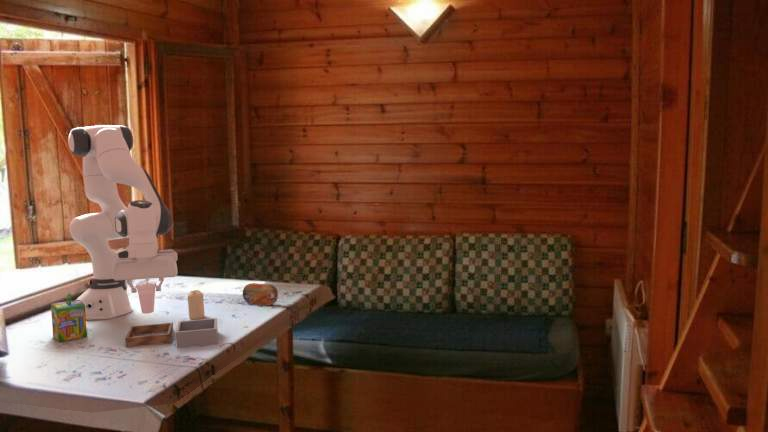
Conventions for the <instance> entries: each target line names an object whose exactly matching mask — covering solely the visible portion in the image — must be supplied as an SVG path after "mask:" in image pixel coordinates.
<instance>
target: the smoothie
mask: <svg viewBox="0 0 768 432" xmlns="http://www.w3.org/2000/svg"><path fill="white" fill-rule="evenodd" d="M156 285H157V282H156V281H150V280H149V279H145V281H140V282H137V283H136V284H135V286H136V288H137V295H138V299H139V303H140V310H141V313H142V314H145V315H146V314H152V313H154V312H155V299H156V297H155V296H156Z"/></svg>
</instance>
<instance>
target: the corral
mask: <svg viewBox="0 0 768 432" xmlns="http://www.w3.org/2000/svg"><path fill="white" fill-rule="evenodd" d="M152 333H153V334H152ZM173 334H174V323H173V322H163V323H153V324H151V323H150V324H141V325H131V326H130V328H129V330H128V332H127V334H126V336H125V338H124V339H125V348H132V347H143V346H144V347H145V346H154V345H165V344H171V341H172V337H173Z"/></svg>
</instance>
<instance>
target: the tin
mask: <svg viewBox="0 0 768 432" xmlns="http://www.w3.org/2000/svg"><path fill="white" fill-rule="evenodd" d="M242 289H243V290H242V297H243V299H244V302H245V303H247V304H248V305H252V306H253V305H255V306H265V307H266V306H267V307H268V306H271V305H273V304H275V303H276V302H277V300H278V298H279V293H278V290H277V288H276V286H274V285H273V284H271V283H258V282H257V283H248V284H246V285H245V286H244V288H242Z"/></svg>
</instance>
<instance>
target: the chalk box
mask: <svg viewBox="0 0 768 432" xmlns="http://www.w3.org/2000/svg"><path fill="white" fill-rule="evenodd" d="M72 298H73V295H72V294H71V293H68V294H67V297H66V301H61V302H53V303H51V304H50V310H51V311H50V312H51V324H52V326H51V327H52V336H53V337H54V339H55V340H57V342H58V343H62V342H68V341H73V340H79V339H83V338H87V337H88V330H87V329H88V328H87V320H86V314H85V304H83V303H82V302H81V301H80V300H76V299H75V300H74V299H73V300H72Z"/></svg>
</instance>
